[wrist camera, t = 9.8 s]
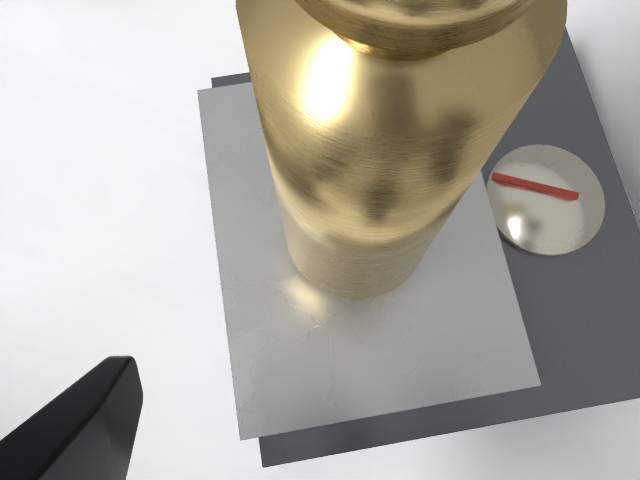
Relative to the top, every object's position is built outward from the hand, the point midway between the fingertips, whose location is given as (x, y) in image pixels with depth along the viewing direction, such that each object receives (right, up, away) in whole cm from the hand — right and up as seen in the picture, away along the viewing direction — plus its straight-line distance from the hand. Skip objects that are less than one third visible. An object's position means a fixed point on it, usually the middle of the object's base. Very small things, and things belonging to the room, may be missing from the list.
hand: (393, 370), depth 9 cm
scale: (+3, +2, +13) cm, 14 cm away
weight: (0, +3, +10) cm, 10 cm away
